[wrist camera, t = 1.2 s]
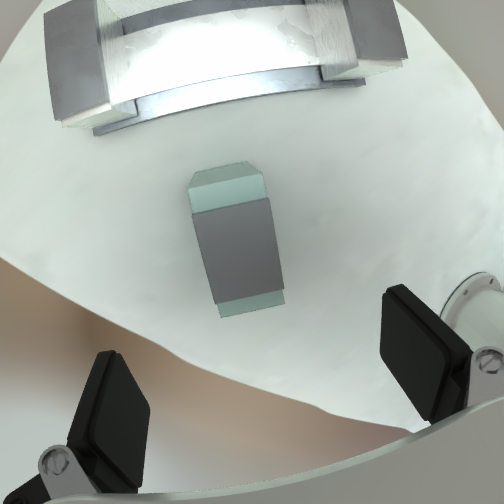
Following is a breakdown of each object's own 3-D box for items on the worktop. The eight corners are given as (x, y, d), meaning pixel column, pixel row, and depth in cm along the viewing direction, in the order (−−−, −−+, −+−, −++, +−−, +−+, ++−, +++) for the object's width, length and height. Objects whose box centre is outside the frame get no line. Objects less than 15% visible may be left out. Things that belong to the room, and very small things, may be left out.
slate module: (247, 161, 27) (264, 174, 18) (265, 255, 30) (287, 307, 21) (194, 172, 27) (185, 191, 18) (217, 266, 30) (220, 322, 21)
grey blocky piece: (338, -6, 21) (383, -47, 13) (360, 86, 25) (418, 72, 16) (83, 38, 20) (34, 7, 12) (98, 136, 24) (48, 139, 15)
